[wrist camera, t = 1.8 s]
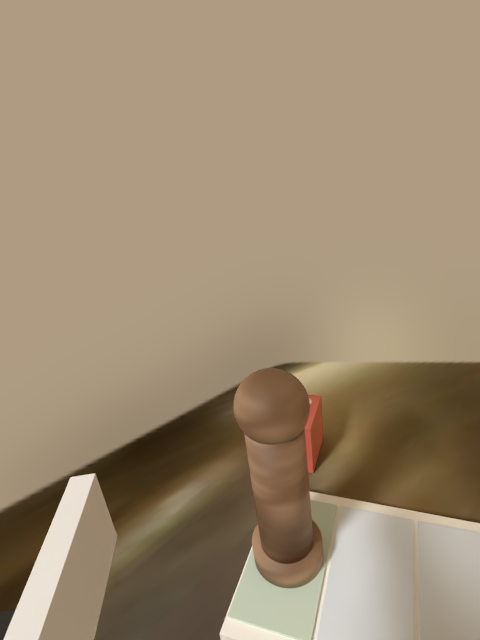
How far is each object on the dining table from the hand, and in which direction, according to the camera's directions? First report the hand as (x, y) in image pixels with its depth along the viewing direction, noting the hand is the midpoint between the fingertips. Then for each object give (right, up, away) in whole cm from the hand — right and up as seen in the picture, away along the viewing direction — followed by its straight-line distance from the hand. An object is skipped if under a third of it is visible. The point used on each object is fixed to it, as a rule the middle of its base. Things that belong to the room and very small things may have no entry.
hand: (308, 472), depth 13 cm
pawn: (+1, -11, +16) cm, 20 cm away
